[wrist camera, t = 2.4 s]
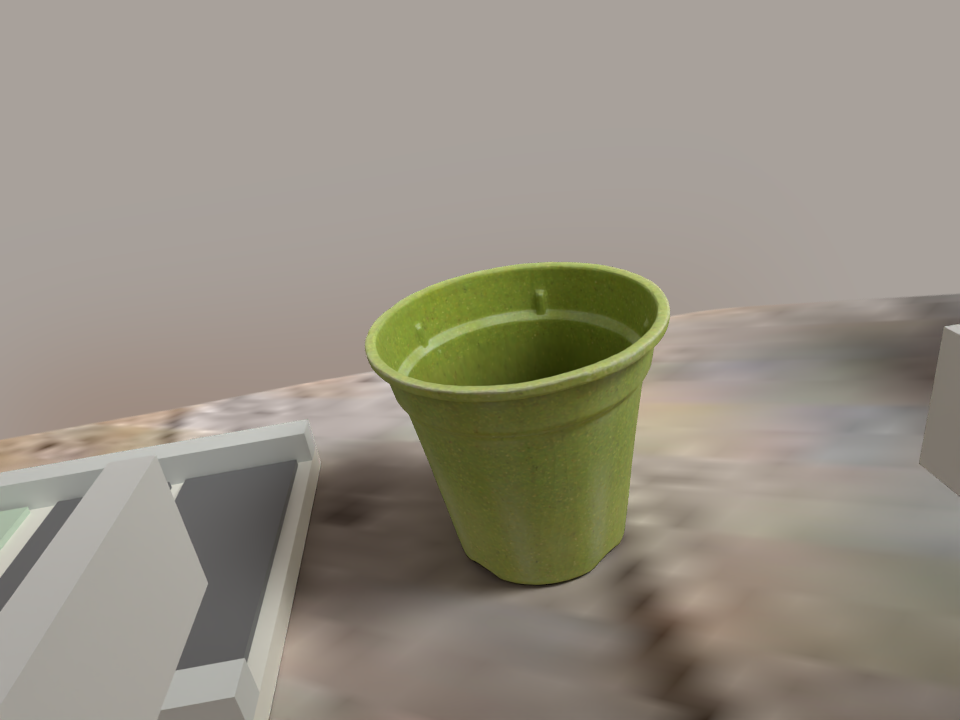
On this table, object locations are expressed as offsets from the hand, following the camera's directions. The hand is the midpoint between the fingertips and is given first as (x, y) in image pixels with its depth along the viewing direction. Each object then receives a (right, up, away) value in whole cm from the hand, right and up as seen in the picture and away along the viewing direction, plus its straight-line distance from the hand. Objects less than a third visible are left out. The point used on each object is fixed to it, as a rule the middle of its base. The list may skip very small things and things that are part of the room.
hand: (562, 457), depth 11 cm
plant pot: (+1, -5, +14) cm, 14 cm away
